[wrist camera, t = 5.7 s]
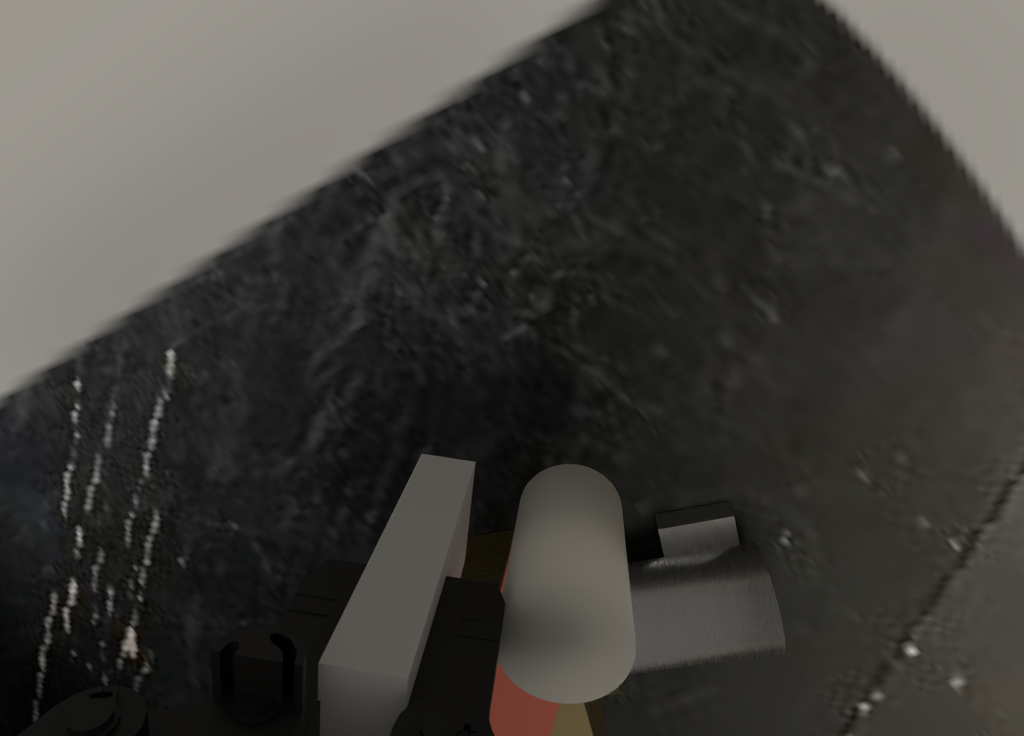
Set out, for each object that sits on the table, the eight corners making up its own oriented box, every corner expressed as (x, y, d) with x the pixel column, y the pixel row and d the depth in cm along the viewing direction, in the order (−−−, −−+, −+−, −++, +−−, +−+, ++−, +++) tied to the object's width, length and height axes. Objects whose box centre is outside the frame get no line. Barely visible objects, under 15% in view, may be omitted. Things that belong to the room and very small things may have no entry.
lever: (535, 823, 22) (518, 1060, 16) (427, 794, 22) (371, 1019, 16) (650, 466, 18) (681, 613, 12) (516, 432, 18) (483, 563, 12)
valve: (336, 674, 32) (249, 854, 24) (294, 568, 31) (185, 721, 22) (761, 611, 29) (833, 795, 21) (738, 488, 27) (805, 633, 19)
